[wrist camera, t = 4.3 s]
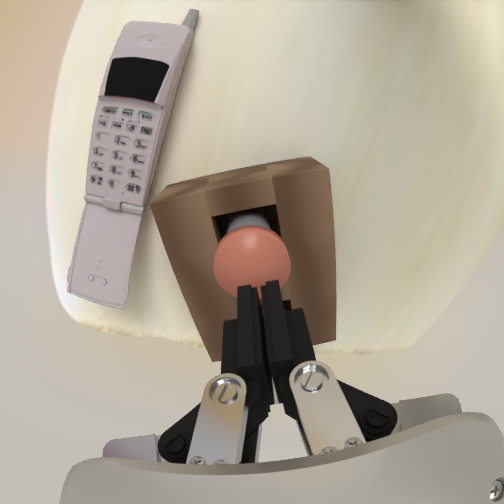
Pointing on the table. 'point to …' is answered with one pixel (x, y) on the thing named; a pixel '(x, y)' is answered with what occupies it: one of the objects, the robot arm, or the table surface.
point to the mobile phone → (126, 154)
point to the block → (287, 227)
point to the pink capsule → (250, 253)
